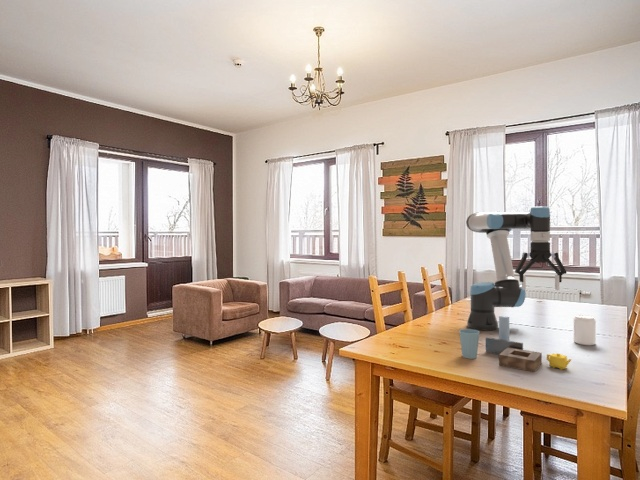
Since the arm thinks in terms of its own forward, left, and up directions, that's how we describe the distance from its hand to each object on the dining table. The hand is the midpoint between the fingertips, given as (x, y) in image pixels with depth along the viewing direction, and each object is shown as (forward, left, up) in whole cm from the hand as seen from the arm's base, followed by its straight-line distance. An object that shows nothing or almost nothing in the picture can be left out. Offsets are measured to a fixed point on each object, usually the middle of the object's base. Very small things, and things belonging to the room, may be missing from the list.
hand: (540, 289), depth 174 cm
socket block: (0, -33, -24) cm, 41 cm away
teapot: (+12, -28, -25) cm, 39 cm away
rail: (-8, -25, -24) cm, 36 cm away
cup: (-19, -36, -25) cm, 47 cm away
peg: (-10, -17, -24) cm, 32 cm away
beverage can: (+15, +14, -25) cm, 32 cm away
